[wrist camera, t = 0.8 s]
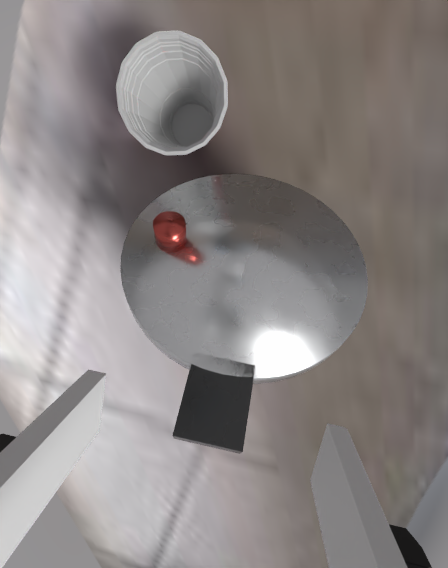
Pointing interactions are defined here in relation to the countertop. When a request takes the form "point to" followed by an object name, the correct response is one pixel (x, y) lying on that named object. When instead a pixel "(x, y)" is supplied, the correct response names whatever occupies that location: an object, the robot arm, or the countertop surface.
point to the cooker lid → (240, 292)
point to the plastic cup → (172, 92)
